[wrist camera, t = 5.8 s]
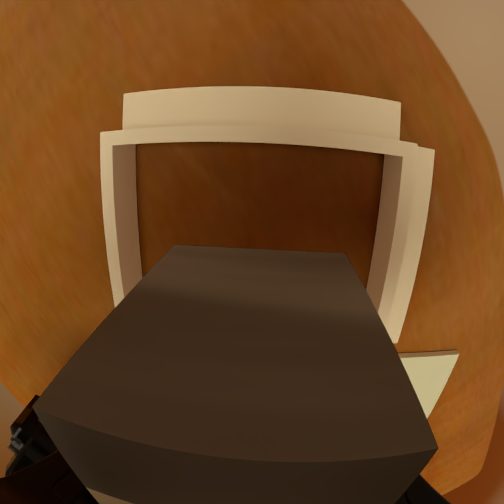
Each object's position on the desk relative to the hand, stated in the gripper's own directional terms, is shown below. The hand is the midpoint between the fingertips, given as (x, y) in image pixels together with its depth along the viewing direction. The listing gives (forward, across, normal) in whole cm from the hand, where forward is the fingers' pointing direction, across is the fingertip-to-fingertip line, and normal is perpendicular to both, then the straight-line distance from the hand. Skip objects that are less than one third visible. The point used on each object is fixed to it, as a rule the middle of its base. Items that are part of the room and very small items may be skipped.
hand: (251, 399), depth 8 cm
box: (+1, 0, 0) cm, 1 cm away
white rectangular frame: (+12, 0, -2) cm, 12 cm away
